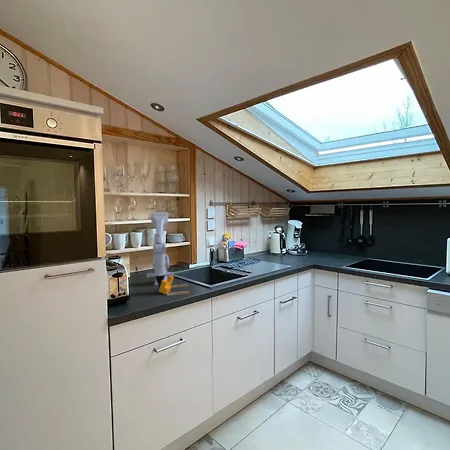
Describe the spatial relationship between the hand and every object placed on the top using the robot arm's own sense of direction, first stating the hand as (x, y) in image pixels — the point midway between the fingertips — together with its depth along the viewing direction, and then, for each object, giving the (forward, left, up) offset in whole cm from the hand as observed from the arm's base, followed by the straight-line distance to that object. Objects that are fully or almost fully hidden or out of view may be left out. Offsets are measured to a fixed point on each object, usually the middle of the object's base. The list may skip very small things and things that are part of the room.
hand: (160, 289), depth 169 cm
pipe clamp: (-1, +3, -1) cm, 3 cm away
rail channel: (0, +10, -2) cm, 10 cm away
